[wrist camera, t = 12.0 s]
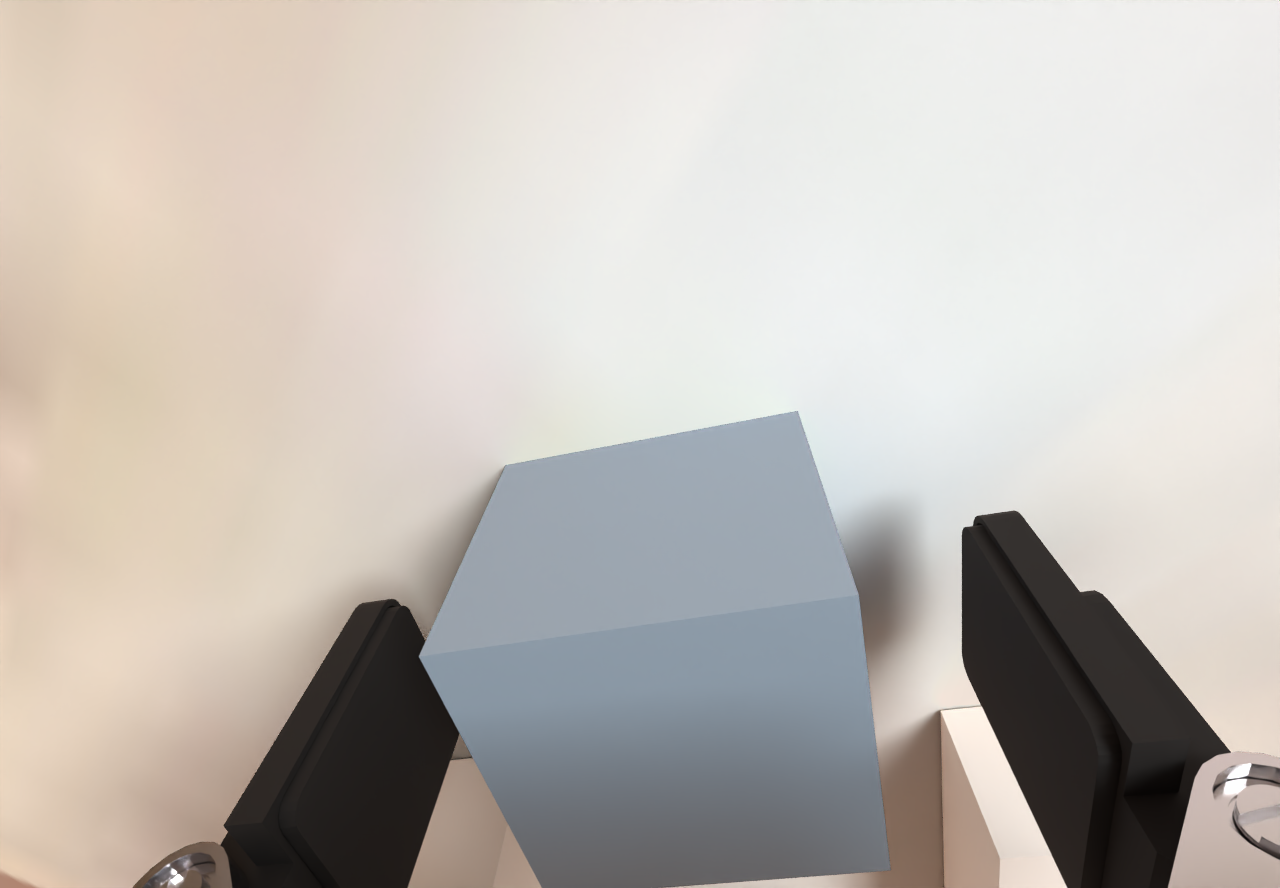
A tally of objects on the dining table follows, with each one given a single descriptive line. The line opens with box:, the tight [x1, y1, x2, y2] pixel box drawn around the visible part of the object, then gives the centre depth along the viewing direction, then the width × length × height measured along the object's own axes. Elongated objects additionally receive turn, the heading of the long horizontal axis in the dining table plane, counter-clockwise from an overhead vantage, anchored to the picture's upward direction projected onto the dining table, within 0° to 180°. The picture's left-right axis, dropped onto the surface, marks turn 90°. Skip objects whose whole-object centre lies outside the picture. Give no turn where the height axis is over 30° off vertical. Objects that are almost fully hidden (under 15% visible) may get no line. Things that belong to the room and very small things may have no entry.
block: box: [419, 411, 891, 888], centre depth 11 cm, size 5×5×4 cm
